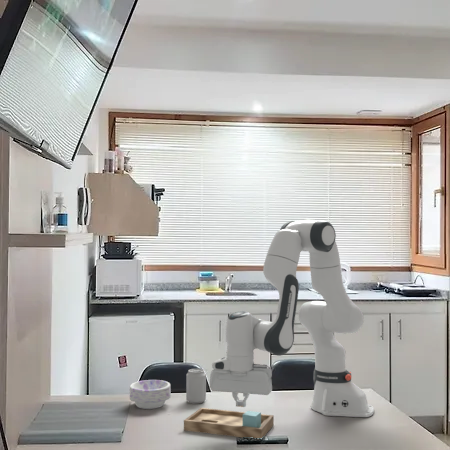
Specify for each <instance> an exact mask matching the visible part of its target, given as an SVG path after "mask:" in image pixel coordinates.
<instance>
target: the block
mask: <svg viewBox="0 0 450 450" xmlns="http://www.w3.org/2000/svg"><path fill="white" fill-rule="evenodd" d="M244 412H245V413H244V414H243V426H247V427H256V428H260V427H261V414H262V412H260V411H253V410H252V411H251V410H246V411H244Z"/></svg>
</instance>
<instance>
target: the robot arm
mask: <svg viewBox="0 0 450 450" xmlns="http://www.w3.org/2000/svg"><path fill="white" fill-rule="evenodd" d="M336 237H337V235H336V230H335V228H334V226H333V225H332V223H330V222H329V221H326V220H323V219H319V220H317V219H316V220H315V219H304V220H296V221H295V220H291V221H288V222H286V223H284V224H283V225H282V226H281V227H280V229H279V230H277V232H276V233H275V235H274V237H273V238H272V241H271V242H270V245H269V247H268V250H267V253H266V256H265V260H264V261H263V262H264V263H263V270H262V271H263V275H264V277H265V279H266V281H267V282H268V283H269V284H271V286H273V287H274V288H276V290H277V292H278V294H279V295H278V296H279V299H278V305H277V309H276V310H277V312H276V317H275V320H274V321H269V320H266V319H265V320H264V319H261V318H258V317H257V316H254V315H253V314H252V313H251V312H249V311H247V310H246V311H245V310H244V311H243V310H242V311H236V312H233V313H231V314H230V315H229V316H228V317H227V320H226V326H225V327H226V328H225V342H226V346H227V348H226V349H227V350H226V354H225V357H220V358H218V359H216V360H215V361H213V362H212V364H211V368H212V370H211V372H210V375H209V388H210V390H211V391H212V392H220V393H221V392H223V393H231V396H232V398H233V399H234V401H235V407H240V408H246V406H247V400H248V398H249V396H250V395H260V396H268V395H270V394H271V393H272V391H273V385H272V377H273V371H272V368H271V367H270V366H268V365H267V364H261V363H260V364H259V363H255V354H254V350H255V349H257V350H260V351H264V352H266V353H269V354H271V355H272V354H273V355H274V356H278V357H279V356H283V355H286V354H287V353H288V352H289V351H290V350H291V349H292V347H293V345H294V343H295V341H294V340H295V321H296V313H297V312H296V311H297V305H298V298H299V288H300V287H299V286H300V285H299V280H298V279H297V269H298V264H299V260H300V255H301V252H308V253H309V269H310V270H309V271H310V281H311V286H312V288H313V290H314V291H315V292H316V293H318V294H319V295H320V296H321V297H322V299H323V300H324V301H322V300H313V301H312V300H311V301H306V302H303V303H302V304H301V306H300V307H299V309H298V321H299V323H300V324H301V325H302V327H303V328H305V330H306V331H307V332H308V335H309V336H310V338H311V341H312V344H313V348H314V365H315V367H314V369H313V384H314V387H313V388H314V389H313V396H312V402H311V405H310V408H311V410H313V411H315V412H318V413H320V414H322V415H323V416H329V417H330V416H332V417H350V418H352V417H354V418H369V417H371V416H372V415H374V413H375V409H374V406H373V405H372V404H369V403H368V398H367V394H366V392H365V391H364V390H363V389H362V388H360V387H359V386H358V385H357V384H355V383H354V382H353V381H352V372H351V371H349V370H347V369H346V368H347V367H346V366H347V365H346V364H347V363H346V358H347V356H346V354H347V353H346V349H345V347H344V345H343V344H342V343H340V342H339V341H338V340H337V338H336V337H335V334H336V333H337V334H343V335H344V334H345V335H346V334H354V333H356V334H357V333H358V332H359V331H360V330H361V329H362V327H363V325H364V321H365V320H364V314H363V313H364V312H363V311H362V309H361V308H360V307H359V306H358V305H357V304H356V303H354V302H353V300H352V299H351V298H350V296H349V294H348V292H347V291H346V288H345V286H344V283H343V275H342V268H341V265H342V264H341V258H340V252H339V249H338V246H337V242H336ZM334 333H335V334H334ZM239 394H242V396H243V399H240V398H239V396H238V395H239Z"/></svg>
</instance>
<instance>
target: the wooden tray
mask: <svg viewBox="0 0 450 450" xmlns="http://www.w3.org/2000/svg"><path fill="white" fill-rule="evenodd" d="M245 412H246V411H236V410H235V411H234V410H227V409H216V408H207V407H200V408H198V410H196V411H194V412H193V413H192V414H190V415H189V416H188V417H186V418H185V419H183V430H184V431H186V432H188V431H189V432H193V433H194V432H195V433H203V434H212V435H219V436H226V437H228V436H229V437H237V438H243V437H253V438H262V437H263V436H264V437H265V436H266V435H267V434H268V432H269V431H270V430H271V429H272V428H273V427H274V426H275V425H274V421H275V419H274V417H275V416H274V415H273V414H263V413H261V427H260V428H256V427H247V426H243V414H244V413H245ZM264 437H263V438H264Z"/></svg>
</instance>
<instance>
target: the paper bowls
mask: <svg viewBox="0 0 450 450" xmlns="http://www.w3.org/2000/svg"><path fill="white" fill-rule="evenodd" d="M171 390H172V389H171V383H170V382H168V381H166V380H162V379H161V380H160V379H148V380H147V379H145V380H138V381H135V382H132V383H131V384H130V385H129V400H130V401H132V402H134V404H135V406H136V407H137V408H139V409H144V410H154V409H159V408H161V407H163V406H164V405H165V403H166V401H167V400H169V399H171V396H172V395H171V394H172V393H171V392H172V391H171Z"/></svg>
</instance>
